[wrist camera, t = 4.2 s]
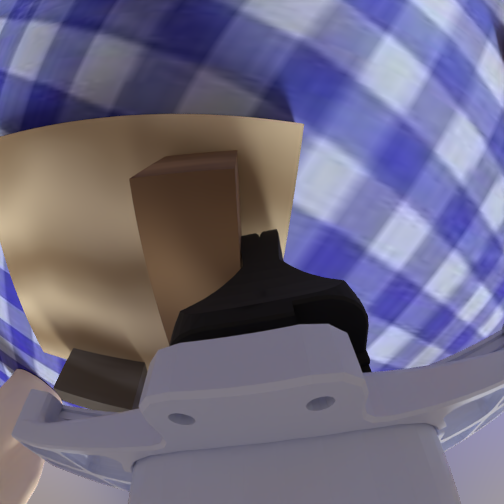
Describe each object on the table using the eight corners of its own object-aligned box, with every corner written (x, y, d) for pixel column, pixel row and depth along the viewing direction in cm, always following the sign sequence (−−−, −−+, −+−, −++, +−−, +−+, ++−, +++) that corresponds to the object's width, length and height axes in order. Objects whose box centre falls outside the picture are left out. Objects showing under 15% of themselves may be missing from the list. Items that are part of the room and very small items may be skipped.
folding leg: (251, 372, 17) (253, 424, 14) (203, 373, 17) (198, 424, 13) (239, 150, 11) (238, 168, 7) (162, 156, 11) (125, 179, 7)
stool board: (257, 365, 20) (261, 433, 15) (53, 336, 19) (25, 386, 13) (295, 122, 12) (333, 129, 7) (5, 135, 11) (-61, 158, 6)
